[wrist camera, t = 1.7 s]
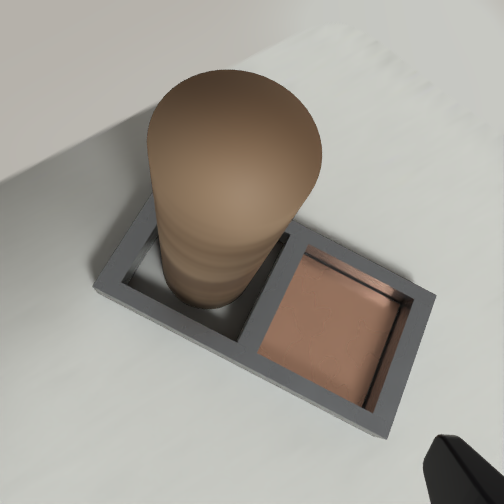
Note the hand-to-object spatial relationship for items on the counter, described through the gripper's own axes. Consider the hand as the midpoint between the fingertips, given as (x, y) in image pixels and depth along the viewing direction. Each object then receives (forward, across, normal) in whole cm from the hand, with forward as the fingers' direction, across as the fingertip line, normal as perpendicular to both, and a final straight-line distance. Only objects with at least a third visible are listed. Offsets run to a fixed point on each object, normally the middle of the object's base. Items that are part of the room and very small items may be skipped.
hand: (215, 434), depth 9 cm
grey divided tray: (+13, -3, +5) cm, 14 cm away
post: (+14, 0, +4) cm, 14 cm away
